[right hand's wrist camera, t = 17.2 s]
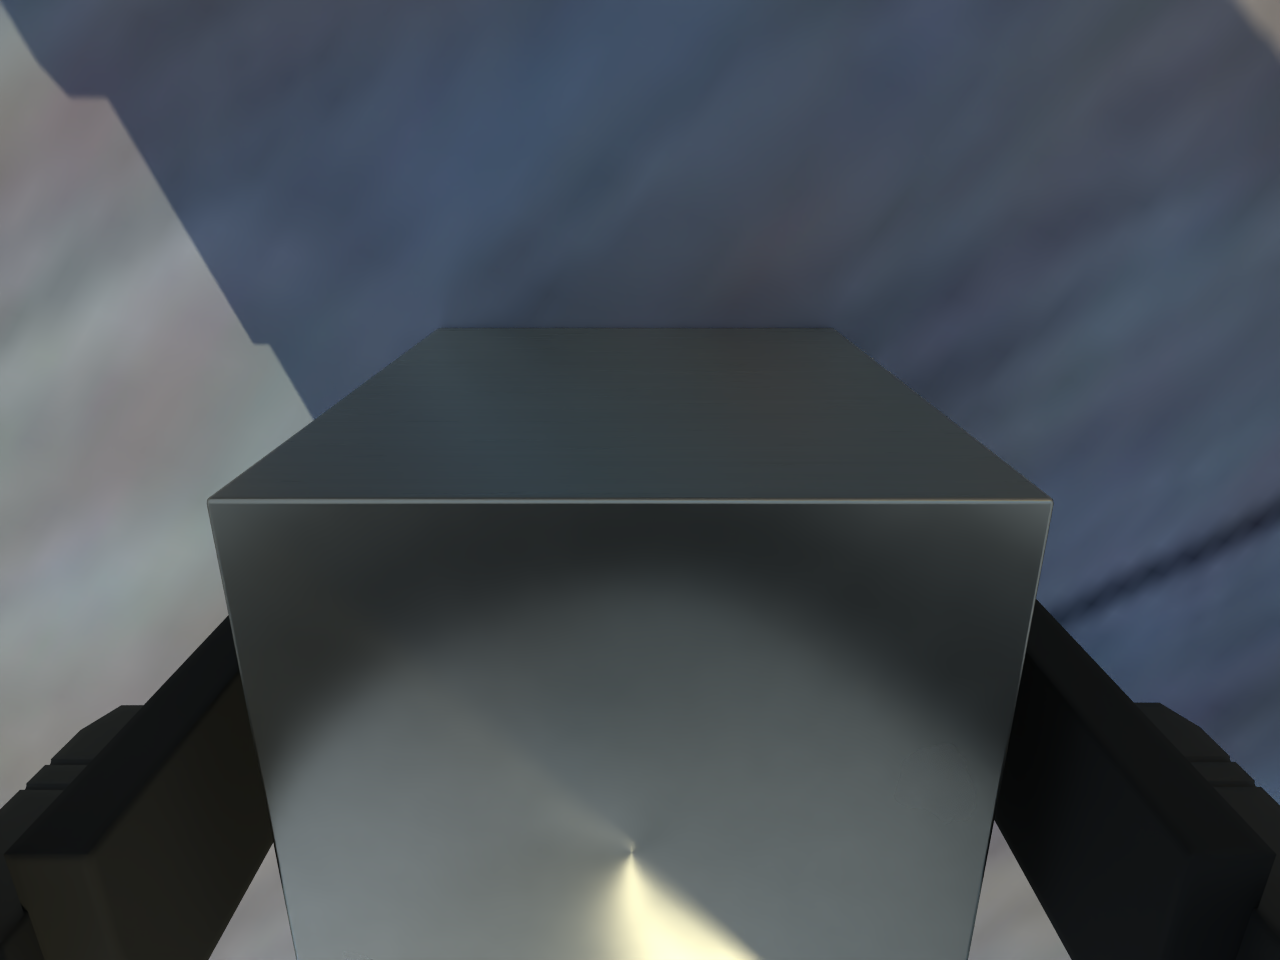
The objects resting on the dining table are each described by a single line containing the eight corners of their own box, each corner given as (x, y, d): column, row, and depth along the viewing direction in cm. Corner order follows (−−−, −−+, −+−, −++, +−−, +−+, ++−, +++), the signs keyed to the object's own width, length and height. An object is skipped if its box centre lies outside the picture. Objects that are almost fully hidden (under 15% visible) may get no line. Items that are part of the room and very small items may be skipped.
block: (804, 685, 19) (941, 1107, 11) (467, 685, 19) (323, 1108, 11) (833, 327, 17) (1057, 499, 8) (437, 327, 17) (203, 499, 8)
